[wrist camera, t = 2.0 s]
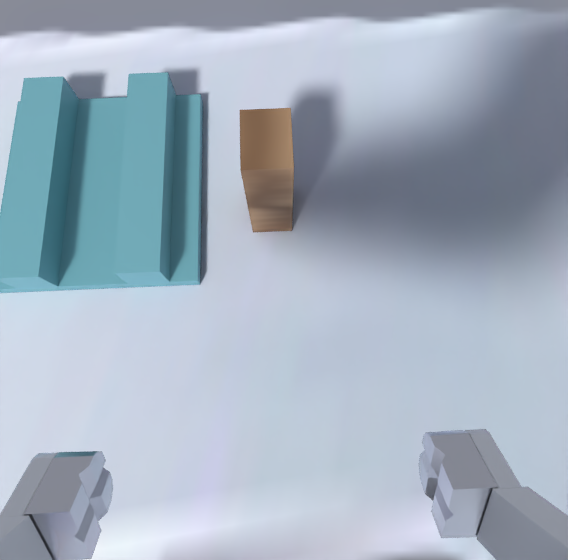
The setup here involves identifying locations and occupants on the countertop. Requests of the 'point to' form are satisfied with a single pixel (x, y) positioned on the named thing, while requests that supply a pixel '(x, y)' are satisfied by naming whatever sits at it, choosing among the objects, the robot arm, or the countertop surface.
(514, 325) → the countertop surface
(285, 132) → the brown rectangular block
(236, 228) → the countertop surface
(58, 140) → the slotted rack
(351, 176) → the countertop surface
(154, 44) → the countertop surface
